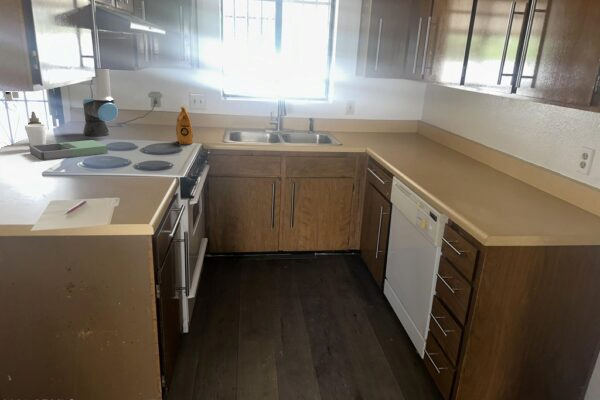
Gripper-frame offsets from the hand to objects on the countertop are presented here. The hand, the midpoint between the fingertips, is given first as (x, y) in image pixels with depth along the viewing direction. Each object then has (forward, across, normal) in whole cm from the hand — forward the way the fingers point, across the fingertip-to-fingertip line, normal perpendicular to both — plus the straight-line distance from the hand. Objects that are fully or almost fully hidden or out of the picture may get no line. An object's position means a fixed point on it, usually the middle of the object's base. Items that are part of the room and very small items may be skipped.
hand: (12, 99), depth 226 cm
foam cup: (+26, +8, +10) cm, 29 cm away
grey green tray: (+25, +19, +27) cm, 42 cm away
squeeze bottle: (+26, -8, +7) cm, 28 cm away
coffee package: (+25, -5, +88) cm, 92 cm away
